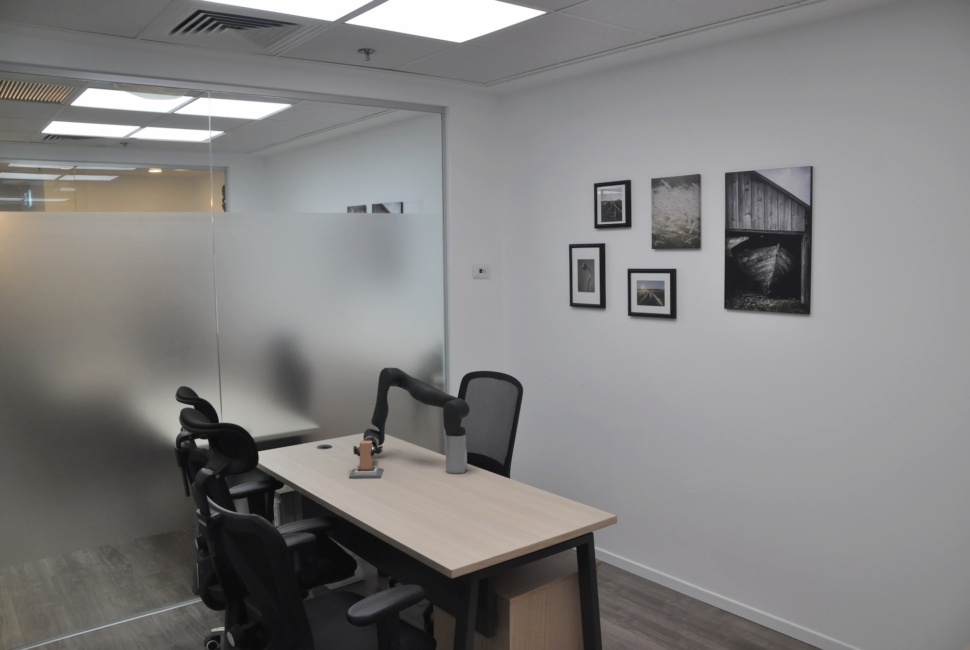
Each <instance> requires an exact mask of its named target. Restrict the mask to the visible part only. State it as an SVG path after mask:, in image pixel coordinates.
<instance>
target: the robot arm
mask: <svg viewBox="0 0 970 650" xmlns="http://www.w3.org/2000/svg"><path fill="white" fill-rule="evenodd" d="M390 387H397V388H401V389H403V390H405V391H407V392H408V393H409V395H410V396H411V397H412V398H413V399H415V400H416V401H418V402H419V403H422V404H425V405H427V406H432V407H437V408H441V409H442V415H443V416H442V418H443V428H444V431H445V472H447V473H448V474H464V473H465V472H466V471H468V449H467V447H466V446H467V445H466V444H467V442H466V441H467V440H466V439H467V438H466V437H467V436H466V434H467V433H466V428H465V427H464V426H461V422H460V420H462V419H464V418H466V417H467V416H468V415H469V413H470V405H469V404H468V402H467V401H466V400H465V399H462V398H459V397H456V396H454V395H451V394H448V393H446V392H444V391H443V390H441V389H438V388H436V387H435V386H433V385H430V384H429V383H426V382H425V381H422V380H420V379H418V378H415V377H412V376H411V375H409V374H408V373H406V372H405V371H404V370H402V369H400V368H398V367H384V368H383V369H381V371H380V373H379V376H378V385H377V393H376V400H375V407H374V411H373V413H372V418H371V421H370V423H371V424H372V426H373V427H376V428H377V429H378V430H376V429H373V428H367V429H366V430H365V431H364V433H363V441H372V450H371V456H372V457H373V456H375V455H380V454H381V453H383V451H384V449H383V448H384V447H383V445H384V443H385V441H386V440H385V439H386V435H385V433H386V431H385V430H386V429H385V428H386V423H387V420H388V419H387V418H388V415H389V411H390V410H389V409H390V408H389V403H388V402H389V401H388V394H389V390H390ZM352 449H353V454H354V455H356V456H357V457H360V446H356V445H353V448H352Z"/></svg>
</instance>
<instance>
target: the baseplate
mask: <svg viewBox="0 0 970 650" xmlns="http://www.w3.org/2000/svg"><path fill="white" fill-rule="evenodd" d="M383 473H384V468H381V467H380V468H379V465H372V469H368V470H360V465H359V466H358V465H357V466H356V468H352V470H351V472H350V474H349V475H348V479H350V480H352V479H353V480H354V479H355V480H358V479H363V480H364V479H382V476H383Z"/></svg>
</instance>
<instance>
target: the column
mask: <svg viewBox="0 0 970 650" xmlns="http://www.w3.org/2000/svg"><path fill="white" fill-rule="evenodd" d="M359 447H360V456H359V466H360V470H368V469H372V466H373V456H371V450H372V441H364V440H361V441H359Z"/></svg>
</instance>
